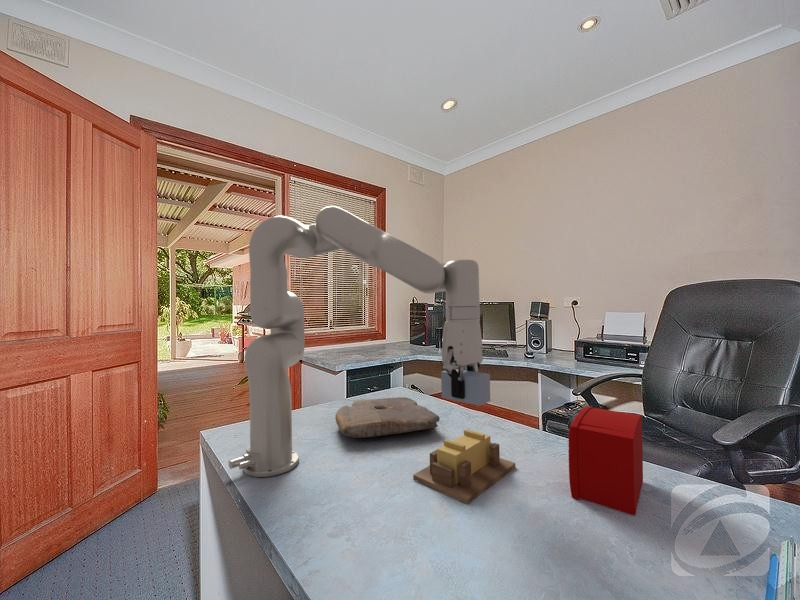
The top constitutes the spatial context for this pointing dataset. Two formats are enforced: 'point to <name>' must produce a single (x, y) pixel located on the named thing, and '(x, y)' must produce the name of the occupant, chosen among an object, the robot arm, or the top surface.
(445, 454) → the tan toy brick
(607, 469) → the fire alarm
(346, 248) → the robot arm
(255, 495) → the top surface
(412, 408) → the stone slab
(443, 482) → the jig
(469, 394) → the grey rectangular block
